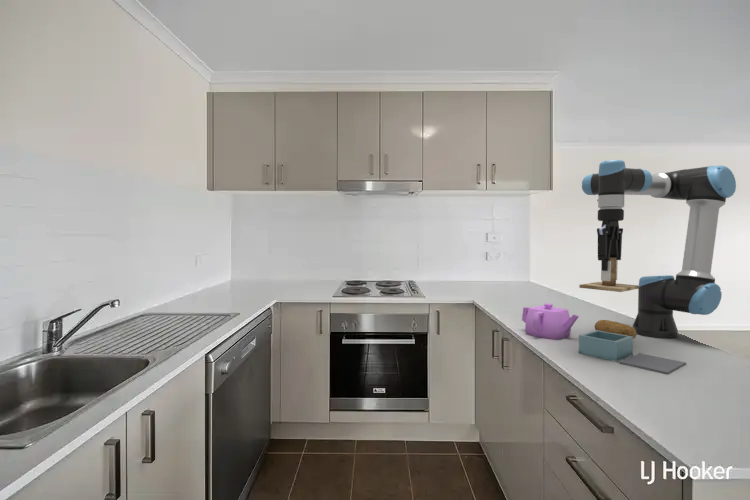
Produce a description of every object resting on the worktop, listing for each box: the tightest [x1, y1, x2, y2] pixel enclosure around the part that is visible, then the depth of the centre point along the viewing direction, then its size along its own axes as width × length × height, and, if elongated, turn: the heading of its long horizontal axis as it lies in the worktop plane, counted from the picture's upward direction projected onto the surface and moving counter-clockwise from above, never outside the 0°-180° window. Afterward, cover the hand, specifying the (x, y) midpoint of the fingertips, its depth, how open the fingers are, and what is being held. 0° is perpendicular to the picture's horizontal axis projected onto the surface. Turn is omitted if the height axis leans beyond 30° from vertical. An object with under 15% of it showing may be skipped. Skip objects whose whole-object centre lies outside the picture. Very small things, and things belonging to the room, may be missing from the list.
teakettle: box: [521, 302, 580, 341], centre depth 172 cm, size 17×17×12 cm
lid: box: [578, 257, 639, 293], centre depth 144 cm, size 13×13×10 cm
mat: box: [619, 352, 687, 375], centre depth 134 cm, size 15×13×1 cm
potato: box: [594, 319, 638, 340], centre depth 159 cm, size 10×14×8 cm
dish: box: [578, 329, 634, 362], centre depth 145 cm, size 12×12×6 cm
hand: (609, 280), depth 144 cm, fingers closed on lid, 4 cm apart
